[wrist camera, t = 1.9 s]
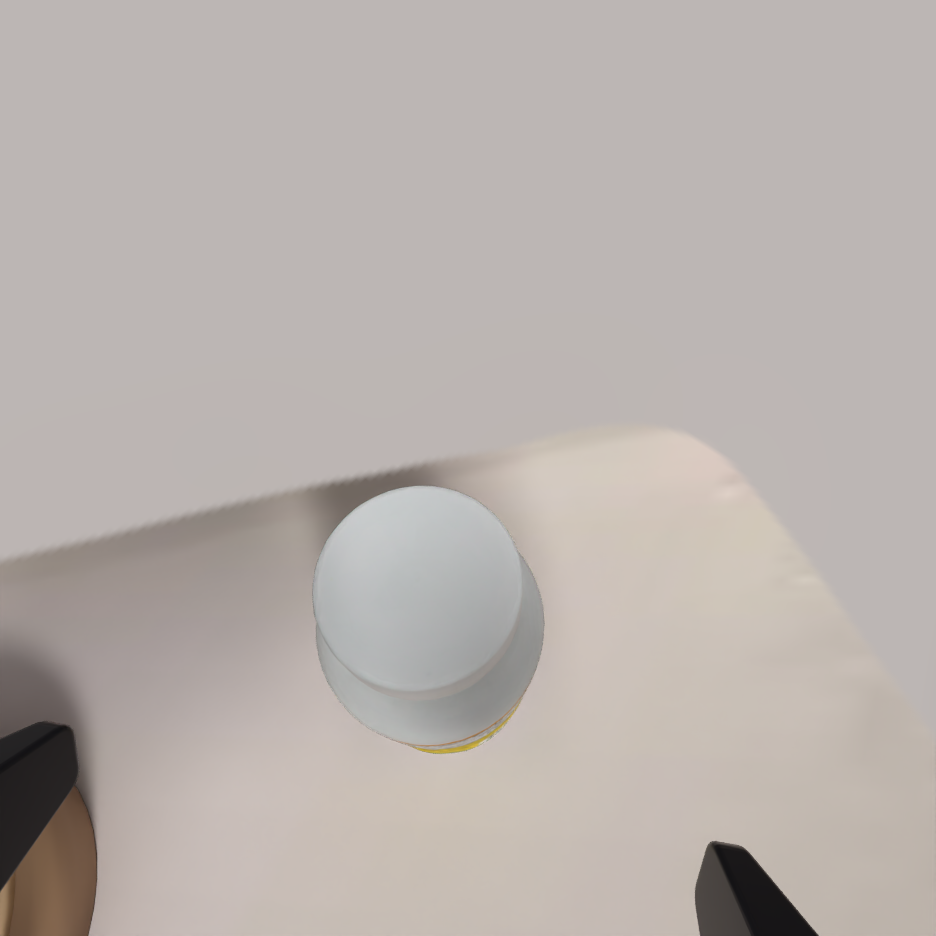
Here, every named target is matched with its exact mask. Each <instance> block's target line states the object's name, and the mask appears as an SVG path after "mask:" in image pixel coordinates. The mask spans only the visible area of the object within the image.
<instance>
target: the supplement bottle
mask: <svg viewBox="0 0 936 936" xmlns="http://www.w3.org/2000/svg"><path fill="white" fill-rule="evenodd" d="M312 596H313V608H314V615H315V618H316V642H317V650H318V655H319V659H320V663H321V667H322V670H323V672H324V675H325V677H326V679H327V682H328V684H329V686H330V687H331V689H332V691H333V692H334V694H335V695H336V697H337V699H338V700H339V701H340V703H341V704H342V705H343V706H344V707H345V709H346V710H347V711H348V712H349V713H350V714H351V715H352V716H353V717H355V718H356V719H357V720H358V721H359V722H361V723H362V724H363V725H365V726H366V727H368V728H369V729H371V730H372V731H374V732H376V733H378V734H380V735H382V736H384V737H386V738H389V739H391V740H394V741H397V742H400V743H402V744H405V745H408V746H411V747H413V748H415V749H418V750H421V751H424V752H428V753H435V754H453V753H459V752H463V751H467V750H470V749H472V748H475V747H477V746H479V745H481V744H483V743H485V742H486V741H488V740H489V739H491V738H492V737H494V736H495V735H496V734H497V733H498V732H499V731H500V730H501V729H502V728H503V727H504V726H505V725H506V724H507V722H508V721H509V720H510V718H511V717H512V715H513V714H514V712H515V711H516V709H517V707H518V705H519V704H520V702H521V700H522V697H523V695H524V694H525V692H526V690H527V688H528V686H529V684H530V682H531V680H532V678H533V675H534V673H535V671H536V668H537V665H538V662H539V658H540V655H541V651H542V645H543V638H544V611H543V604H542V599H541V595H540V592H539V589H538V585H537V583H536V580H535V578H534V576H533V574H532V572H531V570H530V568H529V566H528V565H527V563H526V561H525V560H524V558H523V557H522V556H521V554H520V553H519V552H518V551H517V548H516V546H515V543H514V541H513V539H512V538H511V536H510V534H509V533H508V531H507V529H506V528H505V527H504V525H503V524H502V522H501V521H500V520H499V519H498V518H497V517H496V516H495V515H494V514H493V513H492V512H491V511H490V510H489V509H488V508H486V507H485V506H484V505H483V504H481V503H480V502H478V501H476V500H475V499H473V498H471V497H470V496H467V495H465V494H463V493H460V492H457V491H455V490H450V489H447V488H443V487H437V486H410V487H403V488H398V489H394V490H390V491H388V492H385V493H383V494H380V495H378V496H376V497H373V498H371V499H369V500H368V501H366V502H364V503H362V504H361V505H359V506H358V507H357V508H355V509H354V510H353V511H352V512H350V513H349V514H348V515H347V516H346V517H345V518H344V519H343V520H342V521H341V522H340V523H339V524H338V526H337V527H336V528H335V529H334V531H333V532H332V533H331V535H330V536H329V538H328V540H327V541H326V543H325V545H324V547H323V549H322V551H321V554H320V556H319V559H318V561H317V565H316V568H315V573H314V579H313V589H312Z"/></svg>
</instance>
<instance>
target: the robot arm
mask: <svg viewBox="0 0 936 936" xmlns="http://www.w3.org/2000/svg"><path fill="white" fill-rule="evenodd" d="M78 775H79V762H78V755H77V748H76V742H75V735H74V731H73V729H72V728H71V727H70V726H69V725H66V724H60V723H54V722H48V721H43V722H38V723H35V724H33V725H31V726H28V727H26V728H24V729H22V730H19V731H17V732H15V733H13V734H10V735H8V736H6V737H4V738H1V739H0V892H1V890H2V889H3V888H4V886H5V885H6V884H7V882H8V881H9V879H10V878H11V876H12V875H13V873H14V872H15V871H16V869H17V868H18V866H19V865H20V863H21V862H22V861H23V859H24V858H25V856H26V855H27V853H28V852H29V850H30V849H31V848H32V846H33V845H34V843H35V842H36V840H37V839H38V838H39V836H40V835H41V833H42V832H43V830H44V829H45V827H46V826H47V825H48V823H49V822H50V820H51V819H52V817H53V816H54V815H55V813H56V812H57V810H58V809H59V807H60V806H61V804H62V803H63V802H64V800H65V799H66V797H67V796H68V794H69V793H70V792H71V790H72V788H73V787H74V785H75V783H76V781H77V778H78ZM695 905H696V913H697V919H698V925H699V931H700V936H819V935H818V934H817V933H816V932H815V931H814V930H813V928H812V927H811V926H810V925H809V924H808V922H807V921H806V920H805V919H804V918H803V916H802V915H801V914H800V913H799V912H798V910H797V909H796V908H795V907H794V906H793V904H792V903H791V902H790V901H789V900H788V898H787V897H786V896H785V895H784V894H783V892H782V891H781V890H780V889H779V888H778V886H777V885H776V884H775V883H774V882H773V880H772V879H771V878H770V877H769V876H768V874H767V873H766V872H765V871H764V870H763V868H762V867H761V866H760V865H759V864H758V862H757V861H756V860H755V859H754V858H753V856H752V855H751V854H750V853H749V852H748V851H747V850H746V849H745V848H743V847H741V846H739V845H735V844H729V843H724V842H718V841H712V842H710V843H709V844H708V846H707V848H706V851H705V855H704V858H703V862H702V865H701V869H700V872H699V876H698V879H697V882H696V887H695Z"/></svg>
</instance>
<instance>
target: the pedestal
mask: <svg viewBox="0 0 936 936" xmlns="http://www.w3.org/2000/svg"><path fill="white" fill-rule="evenodd" d="M96 881H97V878H96V849H95V841H94V833H93V829H92V825H91V821H90V818H89V814H88V811H87V808H86V806H85V804H84V802H83V799H82V797H81V795H80V793H79V791H78V790H77V788H76V787H75V785H74V787H73V788H72V790H71V792H70V793H69V794H68V796H67V797H66V799H65V800H64V802H63V803H62V804H61V806H60V807H59V809H58V810H57V812H56V813H55V815H54V816H53V817H52V819H51V820H50V822H49V823H48V825H47V826H46V827H45V829H44V830H43V832H42V833H41V835H40V836H39V838H38V839H37V840H36V842H35V843H34V845H33V846H32V848H31V849H30V850H29V852H28V853H27V855H26V856H25V858H24V859H23V861H22V862H21V863H20V865H19V866H18V868H17V869H16V871H15V872H14V873H13V875H12V876H11V878H10V879H9V881H8V882H7V884H6V885H5V886H4V888H3V889H2V890H1V892H0V936H88V933H89V928H90V924H91V919H92V914H93V909H94V900H95V890H96Z"/></svg>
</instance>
